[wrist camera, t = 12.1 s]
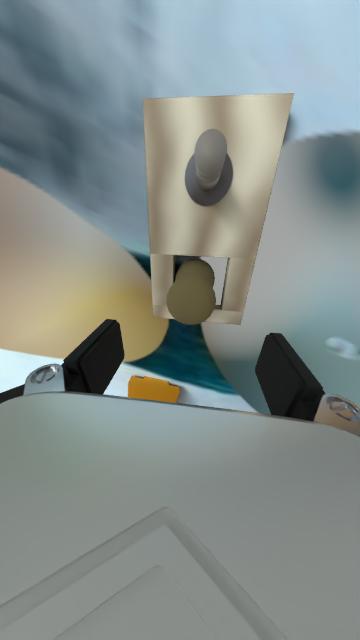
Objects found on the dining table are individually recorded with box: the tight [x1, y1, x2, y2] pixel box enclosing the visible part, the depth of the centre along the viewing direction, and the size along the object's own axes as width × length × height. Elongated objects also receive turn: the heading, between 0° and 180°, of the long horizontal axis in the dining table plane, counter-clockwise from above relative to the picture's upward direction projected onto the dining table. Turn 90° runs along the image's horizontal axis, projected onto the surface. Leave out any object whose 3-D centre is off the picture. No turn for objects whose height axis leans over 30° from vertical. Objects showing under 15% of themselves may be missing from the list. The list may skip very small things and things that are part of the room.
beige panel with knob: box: [143, 93, 294, 325], centre depth 19 cm, size 14×24×9 cm, turn 178°
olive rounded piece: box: [166, 259, 216, 325], centre depth 21 cm, size 6×6×11 cm
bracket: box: [128, 376, 180, 403], centre depth 34 cm, size 11×7×12 cm, turn 79°
